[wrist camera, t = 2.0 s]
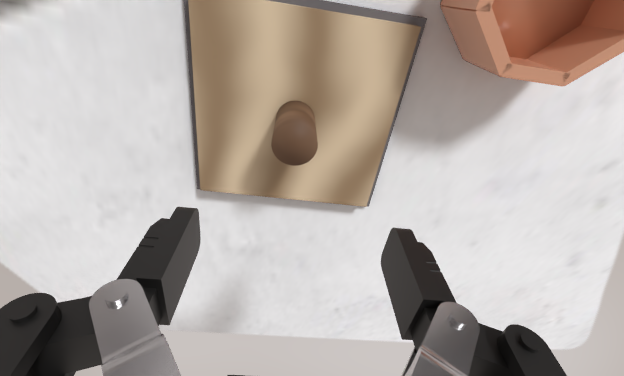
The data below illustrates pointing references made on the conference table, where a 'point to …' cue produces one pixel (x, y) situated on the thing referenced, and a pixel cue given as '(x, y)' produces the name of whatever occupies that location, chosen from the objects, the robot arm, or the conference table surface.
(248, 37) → the oak lid
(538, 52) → the terracotta bowl
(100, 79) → the conference table surface
